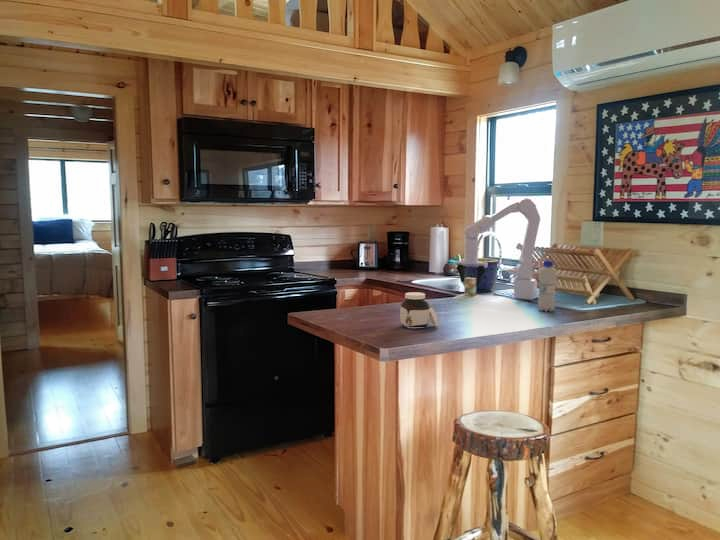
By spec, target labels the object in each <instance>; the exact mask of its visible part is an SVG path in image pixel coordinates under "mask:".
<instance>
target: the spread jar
mask: <svg viewBox="0 0 720 540" xmlns="http://www.w3.org/2000/svg"><path fill="white" fill-rule="evenodd" d="M399 308H400V309H399V311H400V312H399V314H400V315H399V317H400V319H399V320H400V323H401V325H402V324H403V325H405V326H409V327H425V328H427V326H428V325H429V324H430V323H431V325H432V324H433V325H434V326H435V327H434V328H437V327H436V326H438V327H440V323H439V319H438V316H437V313H436V311H435V310H434V308H433V307H430V304H429V302H428V301H427V300H426V293H424V292H418V291H417V292H416V291H415V292H413V291H411V292H405V294H404V299H403V300H402V301H401V303H400V307H399ZM403 325H402V326H403ZM433 325H432V326H433Z"/></svg>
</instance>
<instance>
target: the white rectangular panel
mask: <svg viewBox="0 0 720 540" xmlns="http://www.w3.org/2000/svg"><path fill="white" fill-rule="evenodd" d="M506 298H507V297H506V296H498V295H497V296H496V295H486V294H477V293H476V296H474V297H469V296H465V292H464V293H461V294H457V295H455V296H453V297H450V299H453V300H454V299H455V300H462V301H463V300H465V301H475V302H483V303H494V304H496V303H497V302H499V301H502V300H504V299H506Z"/></svg>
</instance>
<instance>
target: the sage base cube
mask: <svg viewBox="0 0 720 540" xmlns="http://www.w3.org/2000/svg"><path fill="white" fill-rule="evenodd" d="M464 293H465V296H469V297H474V296H476V294H477V292H476V287H474V288H467V287H464Z"/></svg>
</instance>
